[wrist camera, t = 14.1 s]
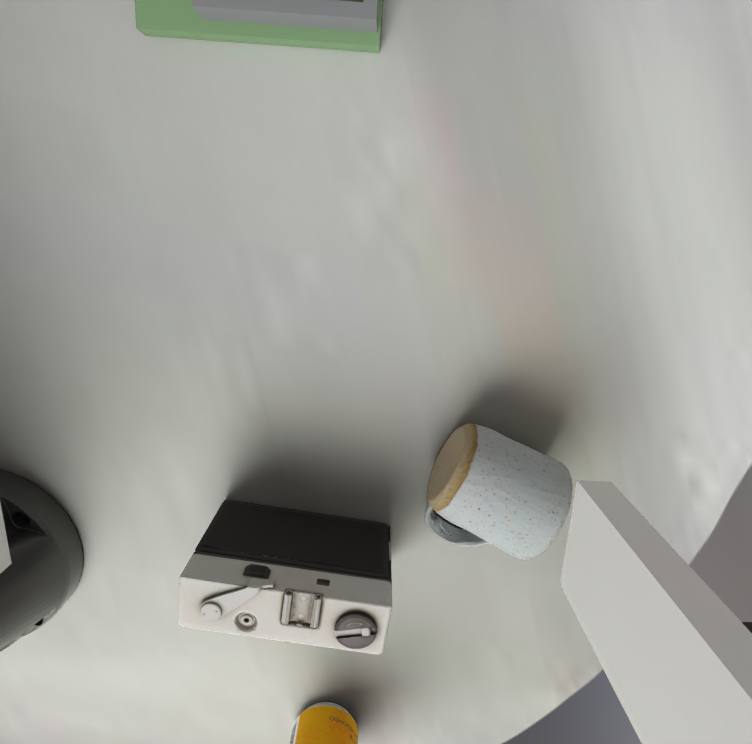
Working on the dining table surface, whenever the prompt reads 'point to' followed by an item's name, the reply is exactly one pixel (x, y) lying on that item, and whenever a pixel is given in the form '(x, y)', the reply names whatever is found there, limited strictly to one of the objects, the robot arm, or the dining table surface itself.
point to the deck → (267, 22)
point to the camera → (290, 578)
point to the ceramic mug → (497, 493)
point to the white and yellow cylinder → (324, 725)
